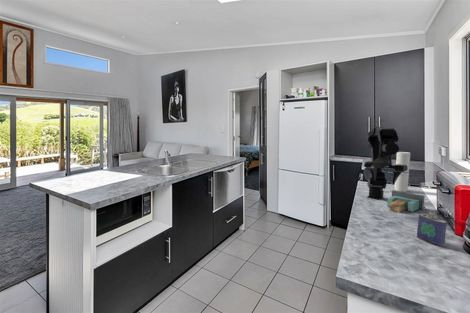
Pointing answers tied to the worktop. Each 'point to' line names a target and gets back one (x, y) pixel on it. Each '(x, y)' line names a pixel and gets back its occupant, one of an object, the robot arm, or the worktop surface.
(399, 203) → the oak peg
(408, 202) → the slot block
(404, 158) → the cylindrical container
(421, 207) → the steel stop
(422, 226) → the flask
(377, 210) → the worktop surface
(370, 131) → the robot arm
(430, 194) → the worktop surface
